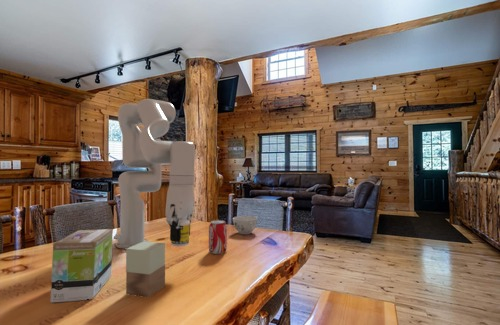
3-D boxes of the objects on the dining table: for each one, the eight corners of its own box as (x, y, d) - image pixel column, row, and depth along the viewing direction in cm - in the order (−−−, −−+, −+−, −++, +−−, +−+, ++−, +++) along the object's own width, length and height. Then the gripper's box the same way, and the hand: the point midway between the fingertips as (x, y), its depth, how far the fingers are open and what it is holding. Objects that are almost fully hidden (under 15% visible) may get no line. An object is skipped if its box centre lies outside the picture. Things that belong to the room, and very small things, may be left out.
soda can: (223, 255, 100) (223, 223, 100) (205, 254, 102) (206, 222, 102) (228, 250, 107) (229, 220, 107) (212, 248, 108) (212, 219, 109)
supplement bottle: (173, 247, 80) (174, 215, 80) (169, 242, 85) (170, 212, 85) (190, 245, 83) (191, 214, 82) (186, 240, 87) (187, 211, 87)
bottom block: (126, 294, 70) (126, 271, 70) (143, 283, 76) (143, 262, 76) (149, 298, 68) (149, 274, 68) (164, 286, 75) (165, 264, 75)
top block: (126, 271, 70) (126, 248, 70) (143, 262, 76) (143, 241, 76) (149, 274, 68) (149, 250, 68) (164, 264, 75) (164, 243, 75)
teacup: (229, 231, 138) (229, 216, 138) (251, 229, 143) (251, 214, 143) (239, 238, 124) (239, 221, 124) (263, 236, 129) (263, 219, 129)
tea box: (94, 300, 67) (95, 240, 67) (49, 304, 65) (50, 243, 65) (112, 276, 81) (113, 227, 82) (75, 278, 79) (76, 229, 80)
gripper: (184, 178, 93) (182, 230, 93) (155, 182, 76) (153, 245, 76) (204, 179, 91) (202, 232, 91) (178, 183, 74) (177, 248, 74)
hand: (180, 237), depth 84 cm, fingers closed on supplement bottle, 5 cm apart
